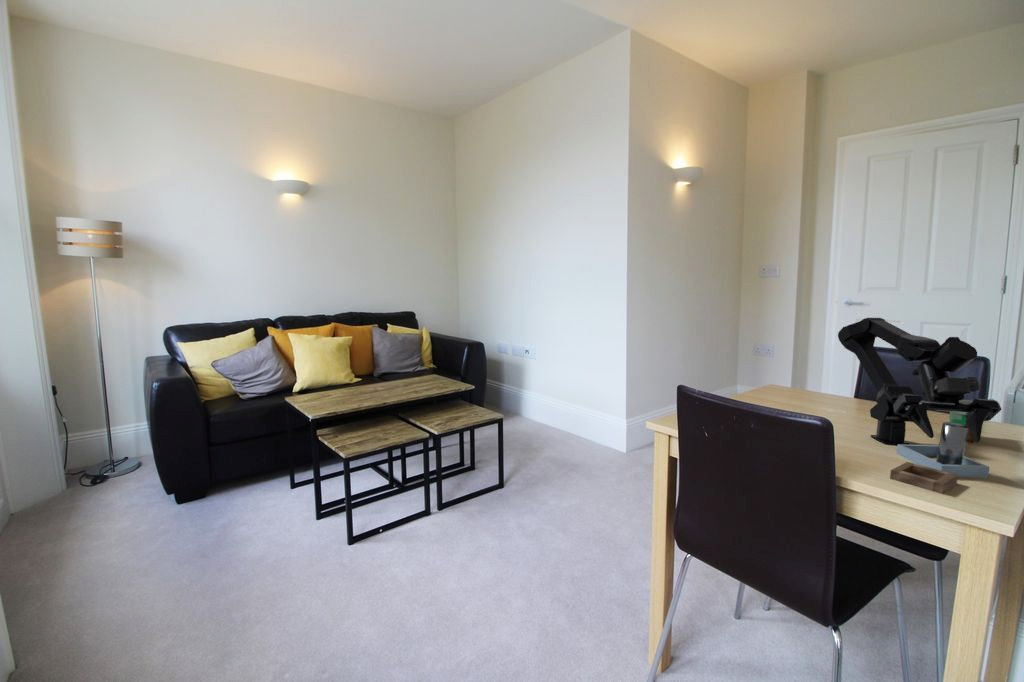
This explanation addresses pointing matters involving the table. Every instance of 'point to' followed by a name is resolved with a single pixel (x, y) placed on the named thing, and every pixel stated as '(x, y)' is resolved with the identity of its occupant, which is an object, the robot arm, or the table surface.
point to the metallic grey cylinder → (952, 443)
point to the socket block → (924, 477)
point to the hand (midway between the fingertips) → (954, 439)
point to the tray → (919, 457)
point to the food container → (962, 419)
